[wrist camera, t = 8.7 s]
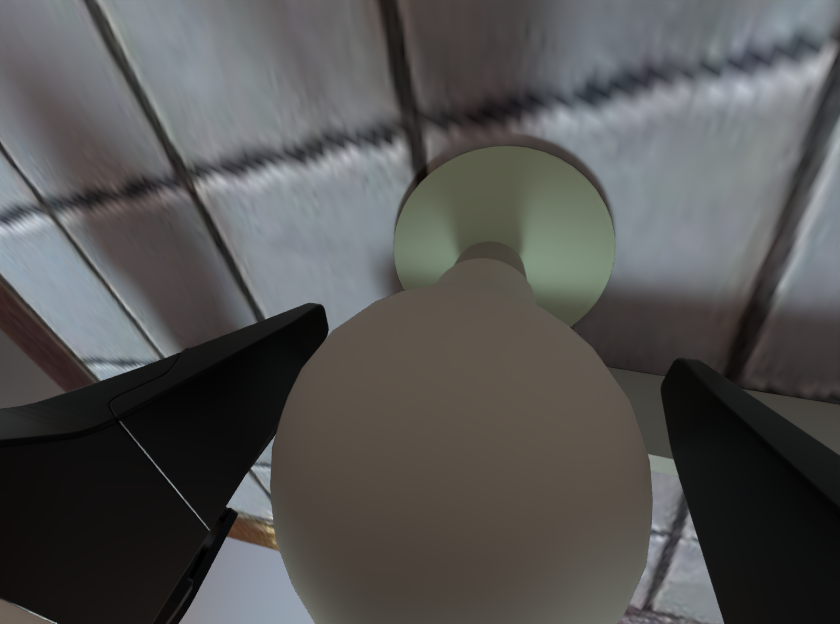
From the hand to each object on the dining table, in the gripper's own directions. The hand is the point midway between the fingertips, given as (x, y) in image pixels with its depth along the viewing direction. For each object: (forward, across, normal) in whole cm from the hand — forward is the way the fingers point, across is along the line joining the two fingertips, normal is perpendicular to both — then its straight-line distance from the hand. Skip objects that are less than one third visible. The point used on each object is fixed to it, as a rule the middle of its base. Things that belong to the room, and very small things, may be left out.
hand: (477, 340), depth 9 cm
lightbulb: (+5, 0, 0) cm, 5 cm away
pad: (+5, 0, 0) cm, 5 cm away
